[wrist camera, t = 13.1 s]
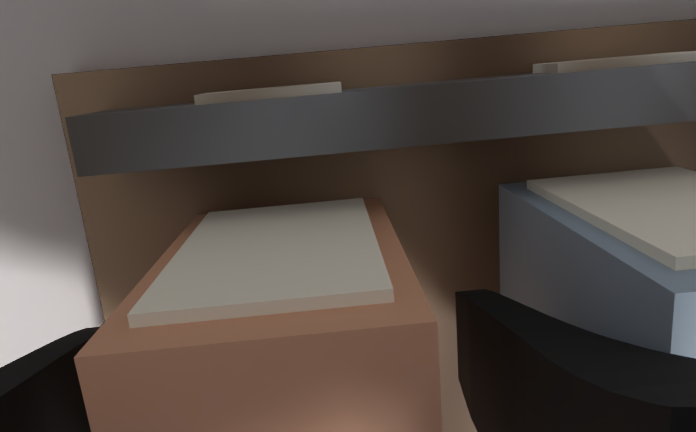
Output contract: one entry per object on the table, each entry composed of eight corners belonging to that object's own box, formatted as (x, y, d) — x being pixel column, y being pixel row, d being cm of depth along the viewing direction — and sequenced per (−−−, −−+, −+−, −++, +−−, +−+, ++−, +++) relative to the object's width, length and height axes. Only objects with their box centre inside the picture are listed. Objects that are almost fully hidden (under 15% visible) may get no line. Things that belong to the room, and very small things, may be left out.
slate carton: (664, 330, 15) (949, 543, 8) (500, 347, 15) (653, 577, 8) (676, 160, 14) (1022, 244, 7) (498, 176, 14) (676, 279, 7)
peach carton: (390, 360, 15) (450, 603, 8) (223, 377, 15) (140, 638, 8) (378, 189, 14) (436, 306, 7) (195, 207, 13) (70, 342, 7)
